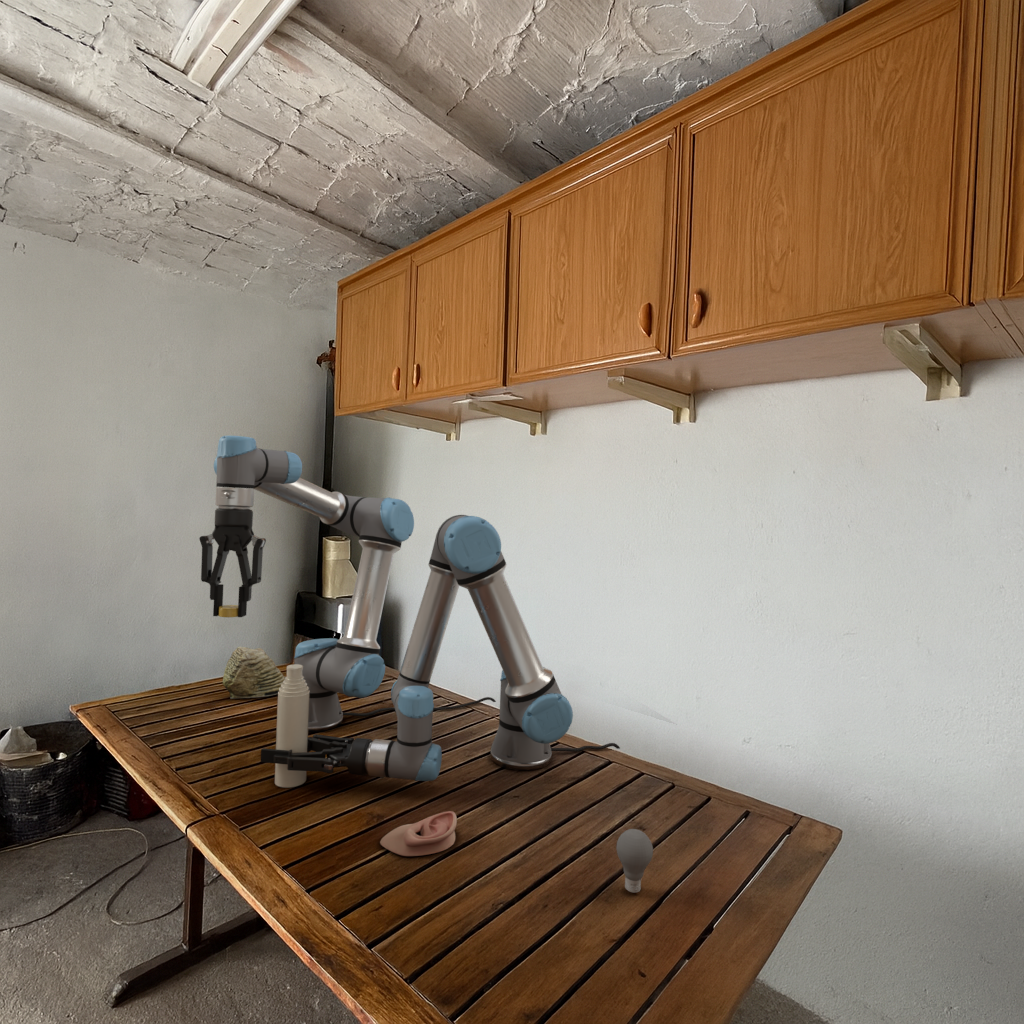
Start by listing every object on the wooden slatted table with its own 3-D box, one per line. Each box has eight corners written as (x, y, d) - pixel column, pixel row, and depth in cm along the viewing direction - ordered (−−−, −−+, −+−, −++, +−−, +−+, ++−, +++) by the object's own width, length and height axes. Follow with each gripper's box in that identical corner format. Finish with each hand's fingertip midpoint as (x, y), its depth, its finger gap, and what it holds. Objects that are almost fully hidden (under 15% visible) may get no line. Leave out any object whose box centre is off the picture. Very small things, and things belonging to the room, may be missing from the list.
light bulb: (610, 879, 108) (613, 822, 108) (644, 879, 109) (647, 822, 109) (619, 902, 102) (622, 840, 102) (655, 901, 103) (658, 840, 103)
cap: (246, 614, 139) (246, 606, 138) (231, 618, 134) (232, 609, 134) (228, 612, 140) (228, 604, 140) (213, 616, 135) (214, 607, 135)
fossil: (218, 695, 195) (220, 647, 195) (278, 685, 208) (279, 640, 207) (228, 703, 189) (230, 653, 188) (289, 692, 201) (290, 645, 201)
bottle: (302, 787, 138) (307, 670, 137) (271, 787, 137) (275, 670, 136) (309, 774, 144) (313, 662, 144) (278, 774, 143) (282, 662, 143)
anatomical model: (373, 829, 114) (398, 800, 125) (372, 851, 114) (397, 820, 125) (444, 840, 111) (462, 809, 122) (443, 863, 111) (461, 830, 122)
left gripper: (184, 506, 133) (180, 617, 133) (269, 510, 133) (264, 620, 133) (201, 505, 140) (197, 610, 140) (281, 509, 141) (276, 614, 141)
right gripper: (353, 794, 129) (246, 784, 131) (383, 756, 148) (289, 748, 151) (355, 758, 129) (247, 748, 131) (384, 724, 148) (290, 717, 151)
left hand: (229, 615), depth 137 cm, fingers closed on cap, 4 cm apart
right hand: (270, 748), depth 141 cm, fingers closed on bottle, 7 cm apart
